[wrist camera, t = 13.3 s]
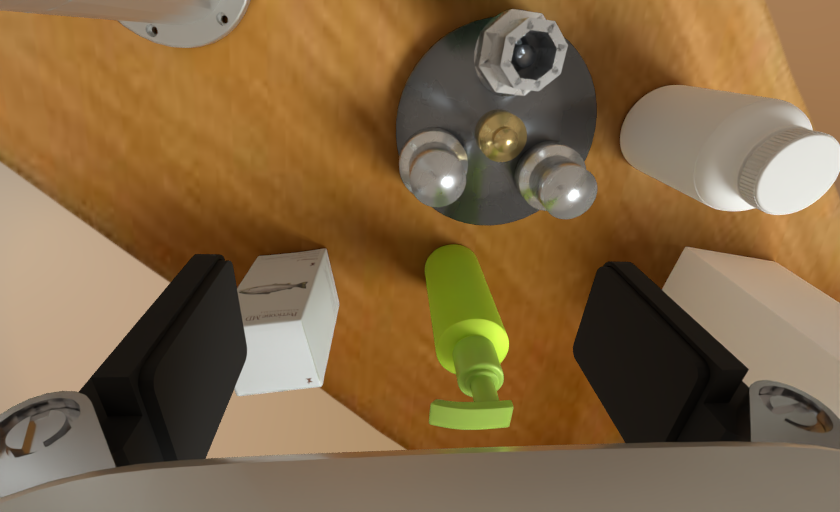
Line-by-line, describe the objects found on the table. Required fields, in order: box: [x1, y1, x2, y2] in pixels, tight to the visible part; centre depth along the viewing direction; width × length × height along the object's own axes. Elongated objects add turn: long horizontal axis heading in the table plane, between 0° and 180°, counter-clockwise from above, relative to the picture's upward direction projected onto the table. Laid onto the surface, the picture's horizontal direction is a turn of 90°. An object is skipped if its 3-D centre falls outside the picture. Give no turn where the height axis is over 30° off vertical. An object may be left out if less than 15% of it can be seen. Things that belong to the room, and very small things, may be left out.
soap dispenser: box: [425, 244, 513, 430], centre depth 35 cm, size 6×7×20 cm
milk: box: [662, 247, 840, 419], centre depth 37 cm, size 12×12×26 cm
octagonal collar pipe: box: [474, 9, 568, 96], centre depth 31 cm, size 6×6×6 cm
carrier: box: [396, 10, 597, 225], centre depth 34 cm, size 18×18×7 cm
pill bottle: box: [620, 85, 840, 215], centre depth 32 cm, size 8×8×15 cm
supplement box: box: [234, 248, 339, 396], centre depth 38 cm, size 7×7×13 cm
